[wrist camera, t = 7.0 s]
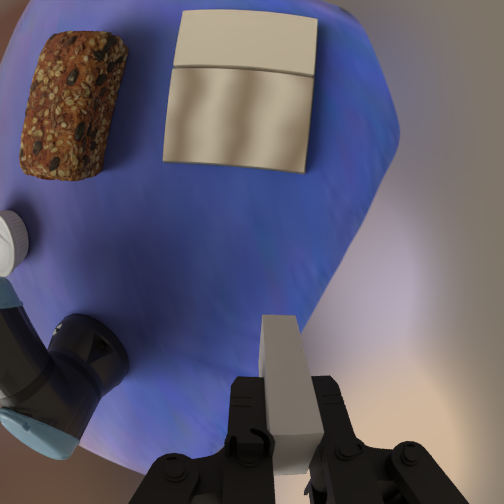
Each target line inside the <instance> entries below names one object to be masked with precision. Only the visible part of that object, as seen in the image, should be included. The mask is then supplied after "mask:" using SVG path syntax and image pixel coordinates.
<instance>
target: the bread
mask: <svg viewBox="0 0 504 504" xmlns="http://www.w3.org/2000/svg"><path fill="white" fill-rule="evenodd" d="M128 49H129V48H128V46H126V44H124V43H123V40H122V39H120V37H118V36H114V35H112V34H111V32H109V33H108V32H105V31H101V32H99V31H95V32H94V31H66V32H61V33H58V34H53V35H52V36H51V37H50V38H49V39H48V40H47V42H46V43H45V46H44V47H43V49H42V51H41V54H40V55H39V59H38V64H37V67H36V69H35V73H34V75H33V81H32V84H31V87H30V95H29V99H28V102H27V108H26V112H25V115H26V117H25V121H24V125H23V130H22V136H21V148H20V153H19V157H20V166H21V169H22V171H23V172H24V173H25V174H26V175H32V176H37V178H41V179H46V180H55V179H56V180H61V181H65V180H67V181H78V180H83V179H85V178H89V177H93V176H96V175H97V174H99V173H100V172H101V170H102V168H103V163H104V154H105V149H106V146H107V137H108V135H109V131H110V124H111V121H112V119H111V118H112V115H113V110H114V108H115V101H116V99H117V95H118V94H117V91H118V89H119V88H120V84H121V80H122V77H123V73H124V68H125V65H126V58H127V55H128V53H129V50H128Z"/></svg>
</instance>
